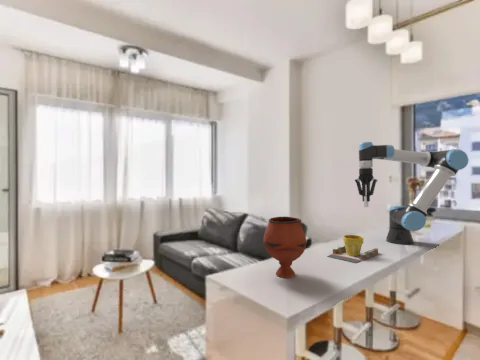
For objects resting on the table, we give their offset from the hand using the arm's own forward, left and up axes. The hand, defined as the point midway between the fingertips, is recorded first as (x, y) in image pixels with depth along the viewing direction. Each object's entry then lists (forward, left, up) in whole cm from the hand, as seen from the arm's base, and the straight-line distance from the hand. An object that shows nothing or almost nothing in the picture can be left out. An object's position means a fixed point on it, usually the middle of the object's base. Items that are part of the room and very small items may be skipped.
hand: (366, 206), depth 176 cm
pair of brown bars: (+16, +12, -24) cm, 31 cm away
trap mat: (+27, +18, -24) cm, 41 cm away
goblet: (+66, +32, -24) cm, 77 cm away
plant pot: (+18, +13, -24) cm, 33 cm away
